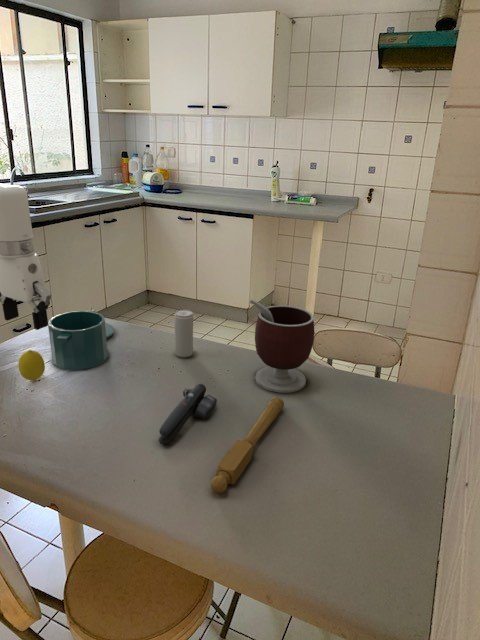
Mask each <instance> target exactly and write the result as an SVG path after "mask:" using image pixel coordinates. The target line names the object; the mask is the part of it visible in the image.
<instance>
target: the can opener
mask: <svg viewBox="0 0 480 640" xmlns="http://www.w3.org/2000/svg"><path fill="white" fill-rule="evenodd" d="M206 391H207V387H206V385H205V384H203V383H197V384H196V385H195V386H194V387H193V388H183V390H182V396H183V398H182V400H181V401H179V403H178V404H177V405H176V406H175V408H173V410H172V411H171V412H170V414H169V415H168V416H167V418H165V421H164V422H163V424H162V425H161V426H160V427H159V430H158V433H159V434H160V436H159V437H158V443H160V444H161V445H164V446H165V445H168V444H169V443H170V442H171V441H173V439H175V438H176V436H177V435H178V433H179V432H180V431H181V430H182V429H183V428H184V426H185V424H186V423H187V421H188V420H189V419H190V417H191V416H192V415H193V414H194V417H196V418H200V419H207V418H208V417H209V416H210V415H211V414H212V412H214V409H215V408H216V406H217V401H218V399H217V398H215V397H214V396H213V395H211V394H209V393H208V394H206V393H207V392H206ZM205 394H206V395H205Z"/></svg>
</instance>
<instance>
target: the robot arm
mask: <svg viewBox="0 0 480 640" xmlns="http://www.w3.org/2000/svg"><path fill="white" fill-rule="evenodd" d="M51 298H52V293H51V292H50V291H49V290H48V289H47V286H46V281H45V275H44V272H43V267H42V264H41V260H40V258H39V255H38V253H36V248H35V242H34V233H33V227H32V219H31V211H30V204H29V197H28V193H27V190H26V189H25V188H24V187H23V186H21V185H18V184H4V183H1V182H0V303H1V306H2V312H3V317H4V320H5V321H11V320H14V319H16V318H19V316H20V314H19V309H18V308H19V307H18V302H17V301H19V302H23V303H26V304H29V306H30V307H31V309H32V312H31V315H32V321H33V322H32V323H33V328H34V330H36V331H39V330H41V329H43V328H46V327H48V321H49V318H48V313H47V310H48V309H49V306H50V305H51ZM36 302H38V304H37V303H36Z"/></svg>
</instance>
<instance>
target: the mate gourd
mask: <svg viewBox="0 0 480 640" xmlns="http://www.w3.org/2000/svg"><path fill="white" fill-rule="evenodd" d="M249 304H252V305H253V306H255V307H256V308H257V309H258V310H259V311H258V316H257V319H256V323H255V326H254V327H255V328H254V329H255V330H254V346H255V351H256V354H257V355H258V357H259V359H260V360H261V361H262V363H264V364H265V365H266V366H265V367H262V368H261V369H258V370H257V372H256V374H255V382H256V383H257V385H258V386H259V387H261V388H263V389H265V390H267V391H270V392H275V393H282V394H285V393H294V392H298V391H300V390H302V389H303V388H304V387H306V382H307V379H306V376H305V375H304V374H303V372H301V370H298V368H300V367H301V366H302V365H303V364H304V363H305V362H307V360H308V359H309V358H310V355H311V352H312V350H313V346H314V342H315V341H314V340H315V321H314V320H315V317H314V315H313V313H311V312H310V311H309V310H307V309H304V308H301V307H297V306H293V305H282V304H281V305H271V306H265V305H263V304H262V303H260V302H258V301H256V300H254V299H250V302H249Z"/></svg>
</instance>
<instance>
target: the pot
mask: <svg viewBox="0 0 480 640" xmlns="http://www.w3.org/2000/svg"><path fill="white" fill-rule="evenodd" d="M105 323H106V319H105V316H104V315H103V314H101V313H100V312H96V309H86V310H73V311H68V312H62V313H59V314H57V315H55V316H53V317H51V318H50V319H48V326H47V327H48V335H49V344H50V352H51V360H52V363H53V365H54V366H55V367H57V368H59V369H62V370H67V371H81V370H89V369H92V368H95V367H98V366H99V365H102V364H103V363H104V362H105V361H106V360H107V359H108V354H109V353H108V343H107V342H108V341H107V338H106V328H105Z"/></svg>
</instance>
